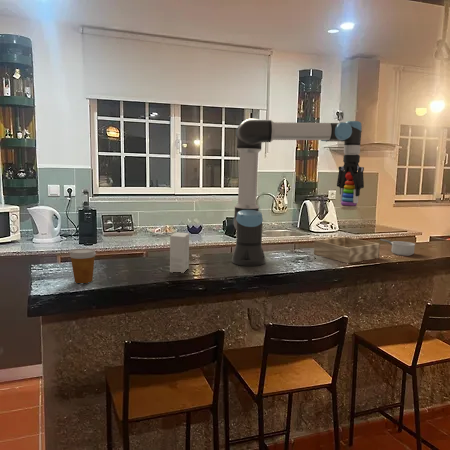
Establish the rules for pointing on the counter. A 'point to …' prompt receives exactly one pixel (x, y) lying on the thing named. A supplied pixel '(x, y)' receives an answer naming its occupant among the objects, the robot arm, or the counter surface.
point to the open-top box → (346, 249)
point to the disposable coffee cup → (83, 264)
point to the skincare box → (179, 252)
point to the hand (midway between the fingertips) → (349, 202)
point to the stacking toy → (348, 194)
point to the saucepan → (401, 247)
